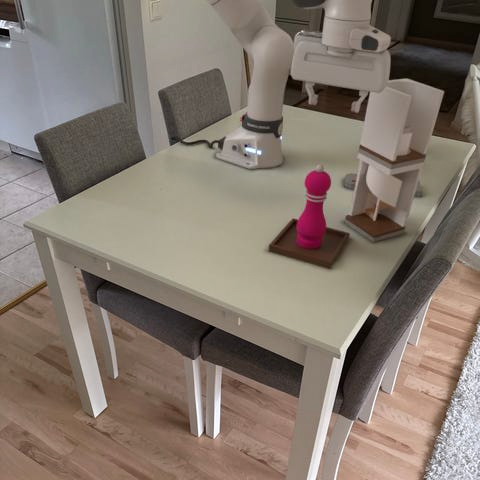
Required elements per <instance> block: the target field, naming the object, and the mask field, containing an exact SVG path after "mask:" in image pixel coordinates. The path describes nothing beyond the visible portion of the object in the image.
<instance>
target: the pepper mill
mask: <svg viewBox="0 0 480 480" xmlns="http://www.w3.org/2000/svg"><path fill="white" fill-rule="evenodd" d="M324 170H325V167H324V165H323V164H317V165H316V166H315V170H314V169H313V170H312V171H310V172H308V174H306V177H305V179H304V187H305V189H306V190H305V194H304V197H305V199H306V201H305V202H306V203H305V206H304V210H303V211H302V213H301V214H300V216H299V217H298V222H297V226H296V229H297V231H298V235H297V244H298V245H299V246H301V247H303V248H306V249H316V248H318V247H320V246H321V244H322V235H324V233H325V232H326V227H327V221H326V217H325V212H324V203H325V201H326V200H327V199H328V198H327V195H328V191H329V190H330V189H331V186H332V179H331V176H330V174H329V173H328V172H327V171H324Z"/></svg>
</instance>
